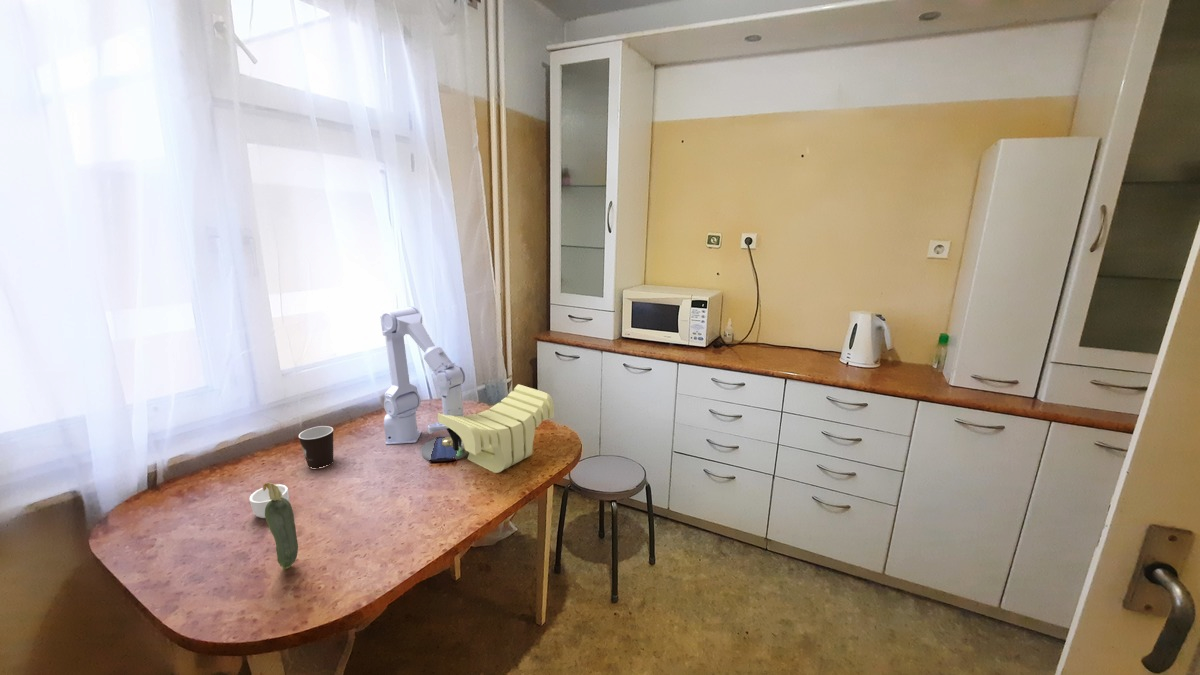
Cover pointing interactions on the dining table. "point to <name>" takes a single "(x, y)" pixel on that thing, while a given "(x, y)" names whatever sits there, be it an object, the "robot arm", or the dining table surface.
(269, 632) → the dining table surface
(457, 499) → the dining table surface
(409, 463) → the dining table surface
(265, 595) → the dining table surface
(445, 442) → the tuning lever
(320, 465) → the coffee mug
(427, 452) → the dial plate
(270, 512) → the vegetable
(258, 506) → the teacup
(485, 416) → the slatted curved stool
